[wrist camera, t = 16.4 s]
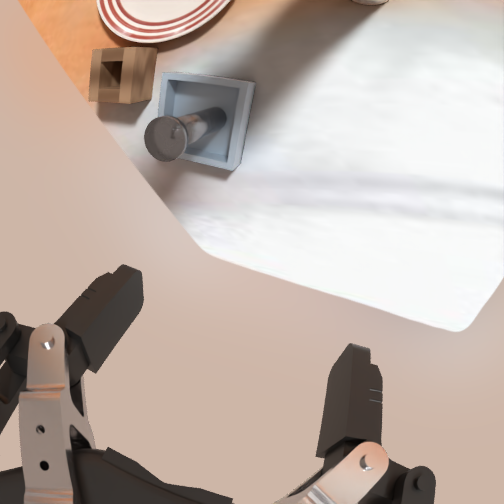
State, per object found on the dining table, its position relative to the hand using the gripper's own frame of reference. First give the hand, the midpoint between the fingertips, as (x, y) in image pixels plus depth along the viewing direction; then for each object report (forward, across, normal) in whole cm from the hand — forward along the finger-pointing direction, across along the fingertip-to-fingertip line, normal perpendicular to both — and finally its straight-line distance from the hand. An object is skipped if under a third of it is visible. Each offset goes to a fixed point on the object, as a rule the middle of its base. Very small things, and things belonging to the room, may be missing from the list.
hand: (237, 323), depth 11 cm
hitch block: (+36, +31, -4) cm, 48 cm away
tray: (+36, +16, +1) cm, 40 cm away
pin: (+35, +15, +1) cm, 38 cm away
